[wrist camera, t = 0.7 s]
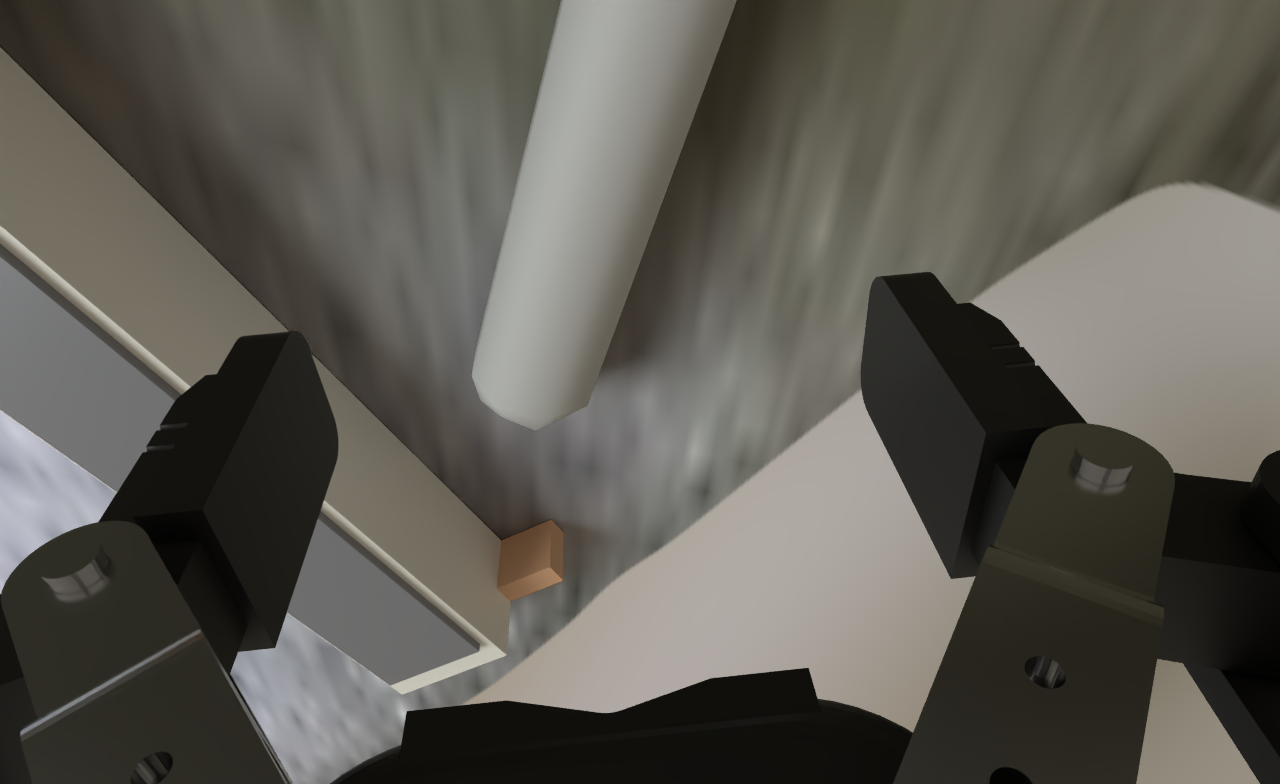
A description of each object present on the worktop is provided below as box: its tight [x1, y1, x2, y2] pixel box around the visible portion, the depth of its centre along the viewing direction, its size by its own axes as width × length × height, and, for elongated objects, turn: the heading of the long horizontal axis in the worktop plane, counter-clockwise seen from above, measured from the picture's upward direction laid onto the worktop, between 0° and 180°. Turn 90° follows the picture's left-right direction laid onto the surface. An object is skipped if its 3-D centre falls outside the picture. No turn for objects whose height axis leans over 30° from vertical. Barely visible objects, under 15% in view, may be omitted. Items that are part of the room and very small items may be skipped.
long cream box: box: [0, 47, 564, 694], centre depth 30 cm, size 9×36×6 cm, turn 28°
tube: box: [472, 0, 737, 431], centre depth 26 cm, size 5×5×25 cm
